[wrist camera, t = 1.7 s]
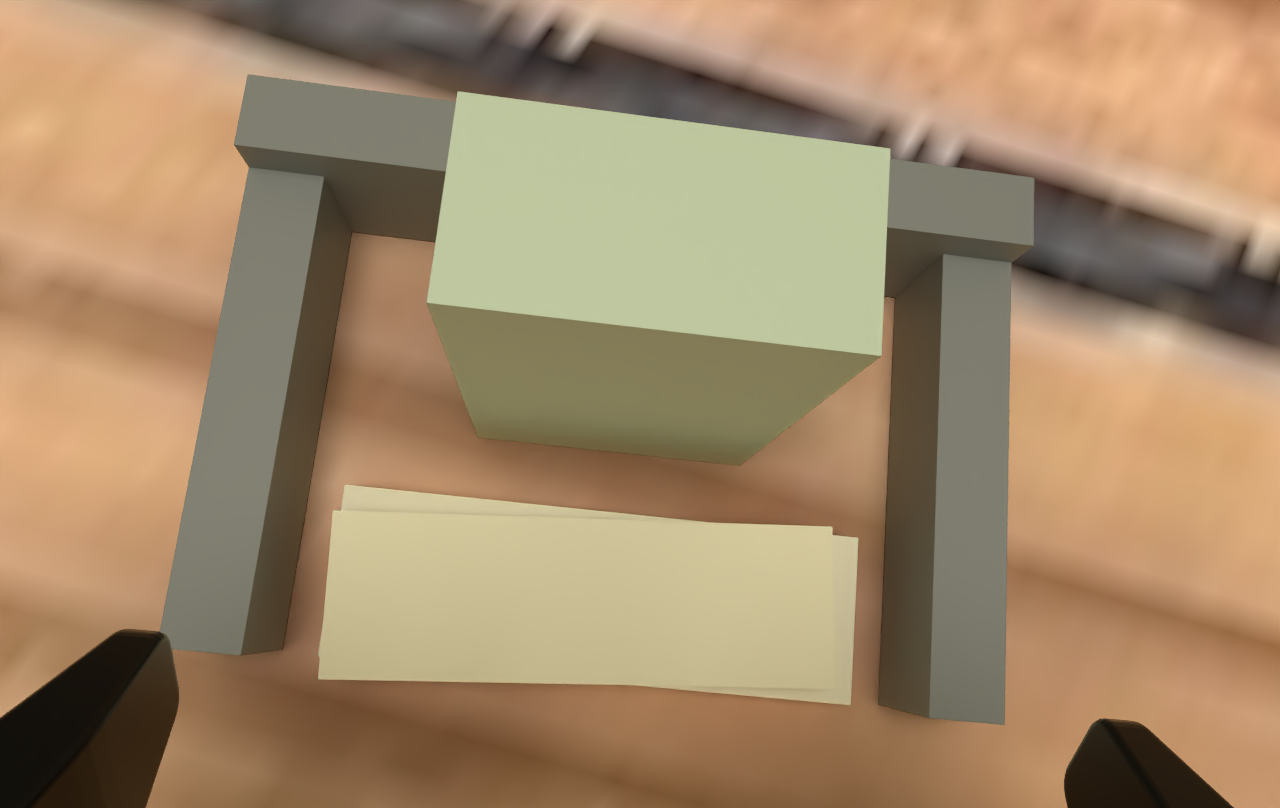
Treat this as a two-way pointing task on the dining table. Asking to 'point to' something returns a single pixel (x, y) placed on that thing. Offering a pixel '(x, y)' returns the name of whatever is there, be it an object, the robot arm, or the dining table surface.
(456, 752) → the dining table surface
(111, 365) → the dining table surface
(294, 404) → the frame
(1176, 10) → the dining table surface
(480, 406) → the green block
